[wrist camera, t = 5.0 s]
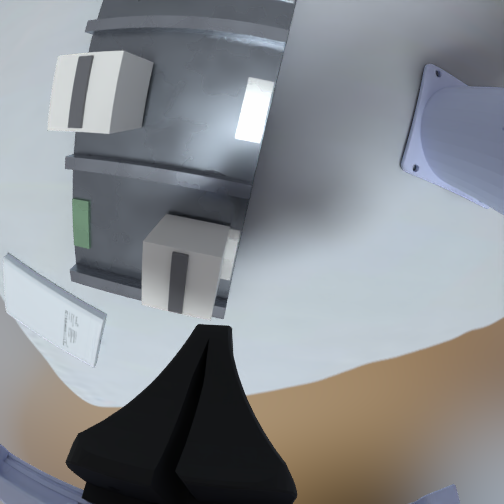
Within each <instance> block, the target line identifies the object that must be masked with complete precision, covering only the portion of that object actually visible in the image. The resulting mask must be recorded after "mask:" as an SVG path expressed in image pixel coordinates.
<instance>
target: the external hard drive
mask: <svg viewBox="0 0 504 504" xmlns="http://www.w3.org/2000/svg"><path fill="white" fill-rule="evenodd" d="M3 281H4V296H5V307H6V312H7V313H8V314H9V315H10V316H12V317H13V318H15V319H16V320H17V321H19V322H20V323H21V324H23V325H24V326H26V327H27V328H29V329H30V330H32V331H33V332H35V333H36V334H38V335H39V336H41V337H42V338H44V339H45V340H47V341H48V342H50V343H52V344H53V345H55V346H56V347H58V348H60V349H61V350H63V351H65V352H66V353H68V354H70V355H72V356H73V357H75V358H77V359H79V360H81V361H82V362H84V363H86V364H88V365H89V366H91V367H93V368H94V367H95V365H96V363H97V359H98V354H99V349H100V340H101V338H102V335H103V330H104V326H105V322H106V317H107V314H105V313H103V312H101V311H99V310H98V309H96V308H94V307H92V306H90V305H89V304H87V303H85V302H83V301H82V300H80V299H78V298H77V297H75V296H73V295H72V294H70V293H68V292H67V291H65V290H63V289H62V288H60V287H58V286H57V285H55V284H54V283H52V282H50V281H49V280H47V279H46V278H44V277H43V276H41V275H40V274H38V273H36V272H35V271H34V270H32V269H31V268H29V267H28V266H26V265H25V264H23V263H22V262H20V261H19V260H17V259H16V258H15V257H13V256H12V255H10V254H9V253H8V254H7V255H6V256H4V258H3Z"/></svg>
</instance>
